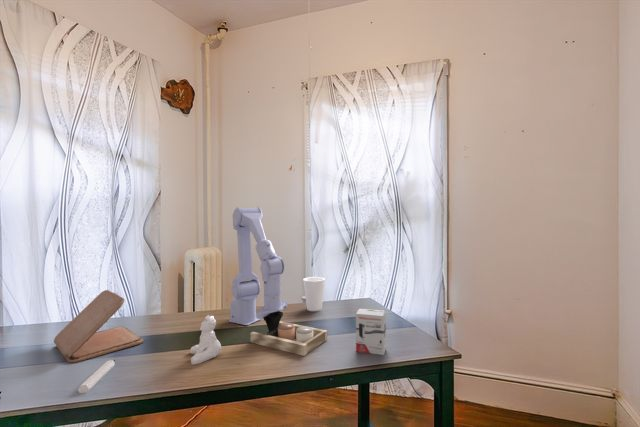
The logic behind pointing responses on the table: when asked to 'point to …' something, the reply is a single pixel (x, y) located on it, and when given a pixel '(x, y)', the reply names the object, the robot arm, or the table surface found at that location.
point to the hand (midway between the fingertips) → (272, 334)
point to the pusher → (273, 332)
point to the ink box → (371, 331)
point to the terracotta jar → (286, 331)
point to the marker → (96, 376)
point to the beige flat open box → (290, 345)
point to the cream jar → (304, 334)
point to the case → (83, 338)
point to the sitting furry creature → (206, 342)
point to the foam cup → (314, 292)
